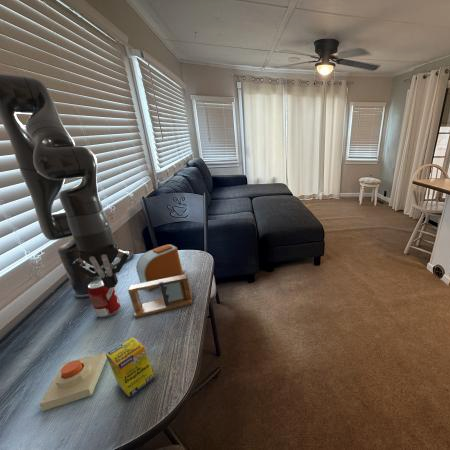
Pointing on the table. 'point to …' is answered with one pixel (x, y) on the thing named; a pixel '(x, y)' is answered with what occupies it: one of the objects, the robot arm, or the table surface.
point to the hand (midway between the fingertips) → (112, 286)
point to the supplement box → (130, 366)
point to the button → (71, 369)
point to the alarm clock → (159, 264)
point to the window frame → (159, 304)
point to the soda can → (103, 299)
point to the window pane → (172, 292)
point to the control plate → (74, 383)
